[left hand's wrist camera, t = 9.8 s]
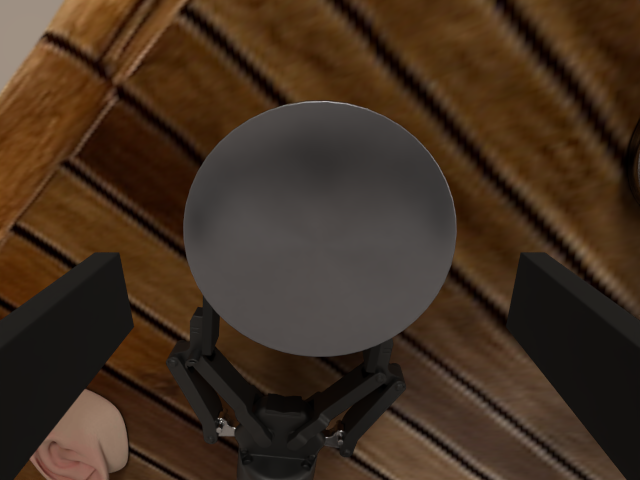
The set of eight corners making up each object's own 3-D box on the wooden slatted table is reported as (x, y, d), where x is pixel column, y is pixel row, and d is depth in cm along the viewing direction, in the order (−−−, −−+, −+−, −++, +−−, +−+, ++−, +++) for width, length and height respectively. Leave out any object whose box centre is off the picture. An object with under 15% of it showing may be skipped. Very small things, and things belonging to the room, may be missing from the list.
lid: (141, 202, 17) (124, 213, 16) (356, 38, 15) (360, 32, 14) (293, 373, 21) (291, 394, 19) (488, 260, 18) (503, 275, 17)
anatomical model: (-1, 401, 39) (116, 422, 40) (27, 374, 42) (134, 393, 43) (4, 492, 43) (110, 509, 44) (29, 460, 47) (126, 476, 48)
